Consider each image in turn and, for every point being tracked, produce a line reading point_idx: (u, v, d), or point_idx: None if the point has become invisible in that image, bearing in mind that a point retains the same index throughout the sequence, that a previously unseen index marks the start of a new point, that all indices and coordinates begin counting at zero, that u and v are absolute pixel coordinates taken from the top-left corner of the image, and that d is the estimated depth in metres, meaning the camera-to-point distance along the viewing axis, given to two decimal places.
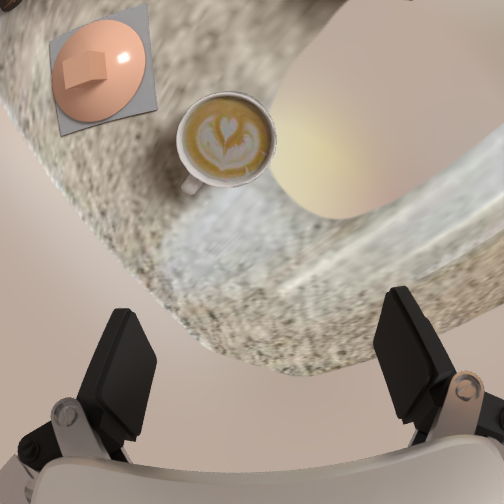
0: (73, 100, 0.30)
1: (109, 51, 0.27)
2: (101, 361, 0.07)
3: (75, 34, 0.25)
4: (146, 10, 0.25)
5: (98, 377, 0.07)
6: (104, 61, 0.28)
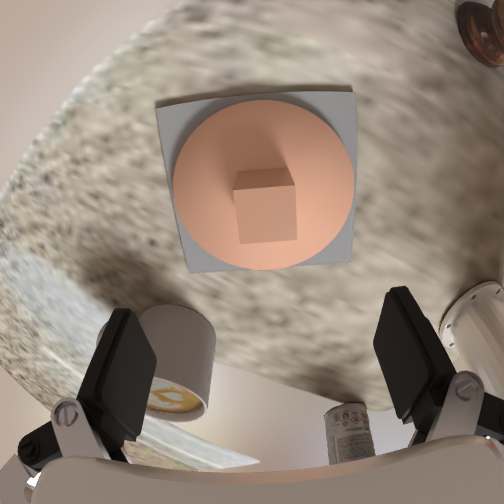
0: (215, 149, 0.21)
1: None
2: (101, 361, 0.07)
3: (345, 159, 0.22)
4: None
5: (98, 377, 0.07)
6: None
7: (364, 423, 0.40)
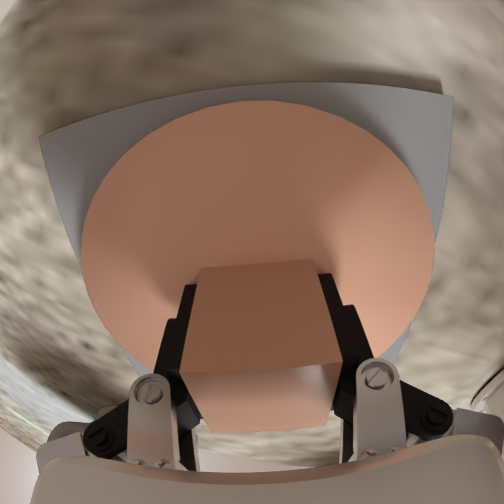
0: (150, 224, 0.09)
1: None
2: (184, 333, 0.08)
3: (426, 238, 0.10)
4: None
5: None
6: None
7: None
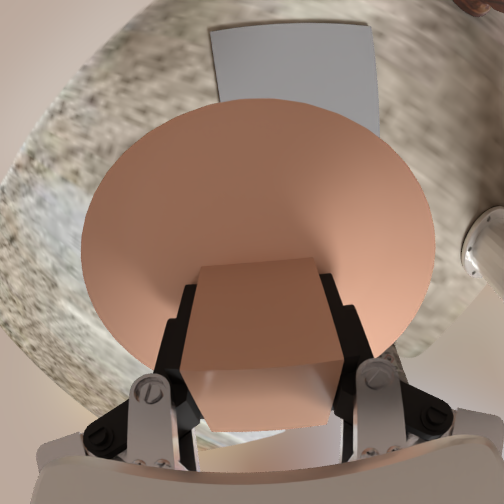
0: (150, 222, 0.09)
1: None
2: (184, 333, 0.08)
3: (427, 236, 0.10)
4: None
5: None
6: None
7: (398, 363, 0.41)
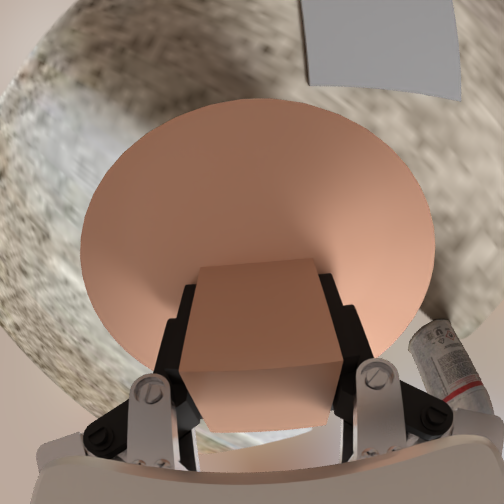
0: (150, 223, 0.09)
1: None
2: (184, 333, 0.08)
3: (427, 237, 0.10)
4: (452, 99, 0.20)
5: None
6: None
7: (459, 340, 0.32)
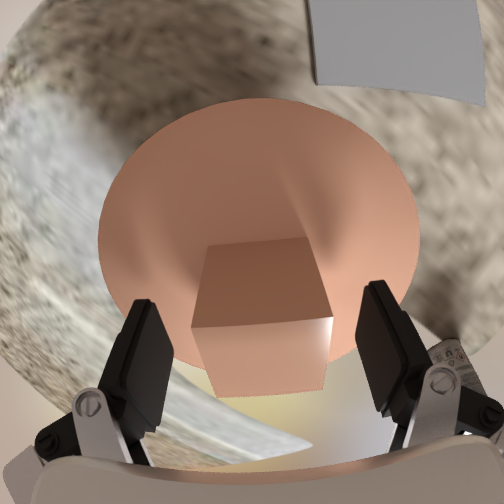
0: (164, 206, 0.11)
1: None
2: (124, 350, 0.08)
3: (411, 219, 0.11)
4: (475, 104, 0.17)
5: (122, 366, 0.07)
6: None
7: (469, 361, 0.29)
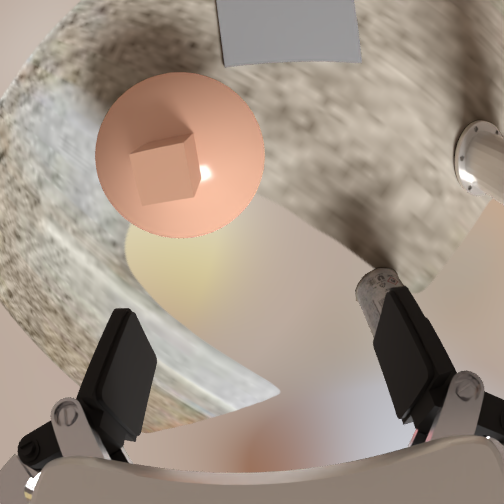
0: (127, 124, 0.21)
1: (202, 186, 0.24)
2: (101, 361, 0.07)
3: (250, 118, 0.21)
4: (352, 62, 0.27)
5: (98, 377, 0.07)
6: None
7: None
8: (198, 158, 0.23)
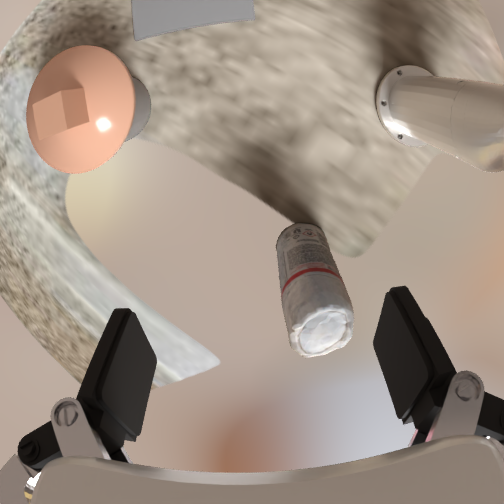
0: (45, 88, 0.22)
1: (90, 128, 0.25)
2: (101, 361, 0.07)
3: (121, 70, 0.22)
4: (246, 19, 0.28)
5: (98, 377, 0.07)
6: (78, 125, 0.25)
7: (321, 240, 0.40)
8: (86, 106, 0.24)
